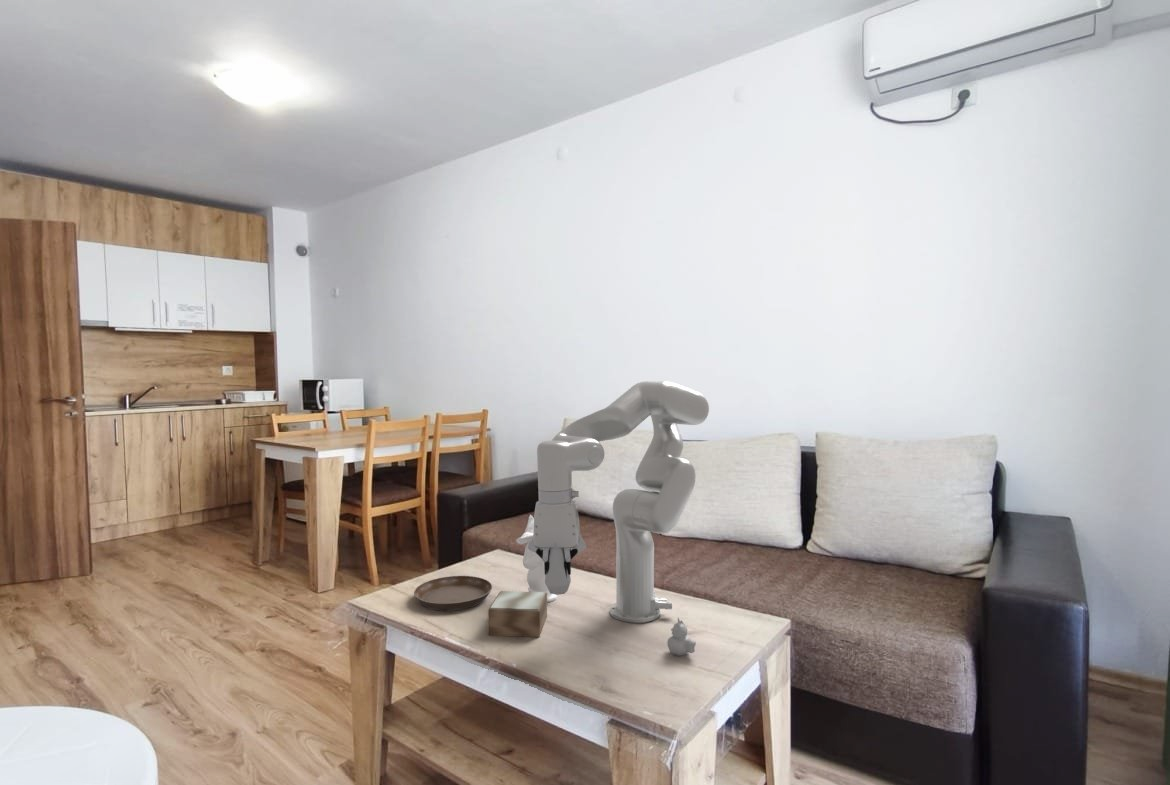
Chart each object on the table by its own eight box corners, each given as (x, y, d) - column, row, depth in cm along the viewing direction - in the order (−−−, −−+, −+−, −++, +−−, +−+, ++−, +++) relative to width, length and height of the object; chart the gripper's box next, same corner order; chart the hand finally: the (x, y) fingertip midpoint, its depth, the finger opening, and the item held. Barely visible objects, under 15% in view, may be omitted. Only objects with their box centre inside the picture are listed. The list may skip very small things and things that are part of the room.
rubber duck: (674, 646, 132) (674, 610, 132) (701, 654, 128) (701, 618, 128) (661, 654, 128) (662, 618, 128) (689, 663, 124) (689, 625, 124)
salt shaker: (539, 591, 133) (538, 534, 132) (558, 584, 137) (557, 529, 136) (557, 598, 129) (555, 539, 128) (576, 590, 133) (574, 533, 132)
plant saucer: (460, 620, 147) (460, 606, 147) (397, 606, 156) (397, 594, 156) (506, 594, 166) (506, 582, 165) (447, 583, 174) (447, 571, 174)
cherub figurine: (566, 600, 160) (567, 519, 160) (528, 611, 153) (529, 526, 152) (540, 587, 170) (541, 511, 169) (503, 597, 162) (503, 517, 161)
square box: (546, 616, 149) (547, 591, 148) (539, 637, 137) (539, 610, 137) (499, 615, 150) (499, 590, 149) (488, 635, 138) (488, 608, 137)
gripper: (593, 492, 135) (595, 571, 136) (522, 493, 136) (524, 571, 137) (590, 499, 128) (593, 583, 128) (515, 500, 129) (518, 583, 130)
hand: (557, 576), depth 133 cm, fingers closed on salt shaker, 3 cm apart
